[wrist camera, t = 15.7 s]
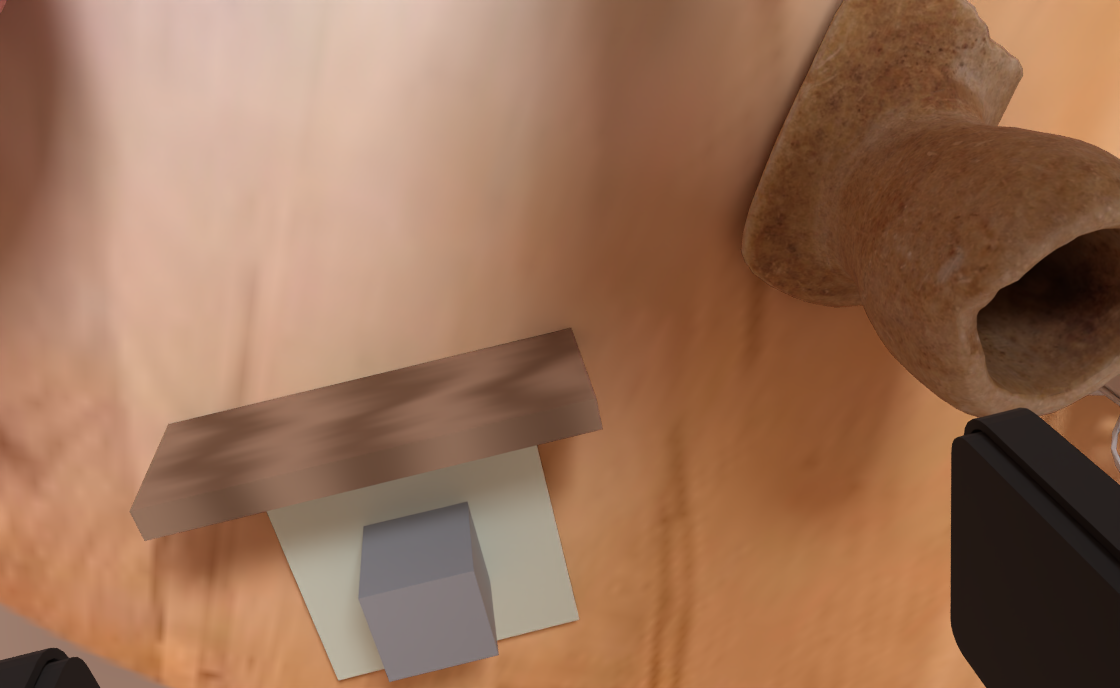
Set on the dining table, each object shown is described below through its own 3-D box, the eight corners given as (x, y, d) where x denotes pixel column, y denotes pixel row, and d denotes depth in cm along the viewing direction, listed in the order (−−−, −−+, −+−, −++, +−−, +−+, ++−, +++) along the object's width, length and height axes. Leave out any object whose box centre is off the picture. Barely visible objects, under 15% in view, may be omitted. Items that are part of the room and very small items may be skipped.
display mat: (527, 407, 47) (529, 415, 47) (577, 609, 54) (579, 619, 53) (256, 473, 47) (254, 482, 46) (339, 669, 53) (338, 680, 52)
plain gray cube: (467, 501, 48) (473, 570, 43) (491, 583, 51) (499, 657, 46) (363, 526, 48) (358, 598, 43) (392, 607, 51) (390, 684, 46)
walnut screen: (570, 328, 46) (596, 397, 39) (576, 356, 46) (602, 429, 40) (168, 424, 45) (129, 511, 39) (180, 451, 46) (144, 540, 39)
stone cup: (902, 325, 48) (1088, 493, 35) (701, 258, 45) (823, 415, 32) (1065, 41, 43) (1360, 112, 30) (850, -60, 40) (1073, -31, 26)
